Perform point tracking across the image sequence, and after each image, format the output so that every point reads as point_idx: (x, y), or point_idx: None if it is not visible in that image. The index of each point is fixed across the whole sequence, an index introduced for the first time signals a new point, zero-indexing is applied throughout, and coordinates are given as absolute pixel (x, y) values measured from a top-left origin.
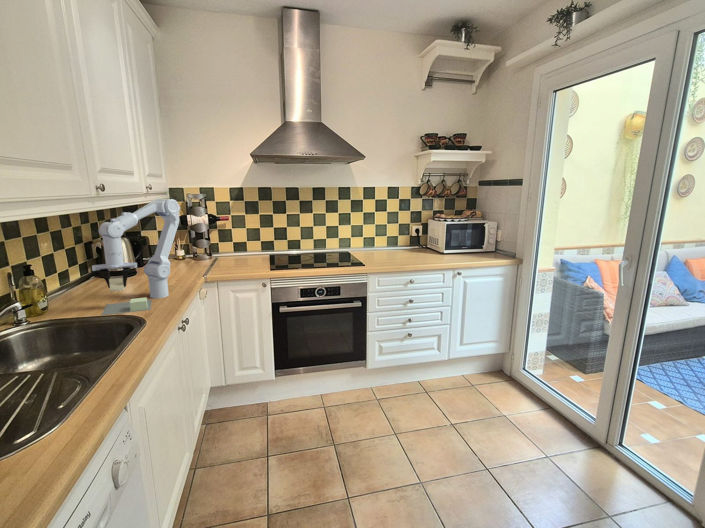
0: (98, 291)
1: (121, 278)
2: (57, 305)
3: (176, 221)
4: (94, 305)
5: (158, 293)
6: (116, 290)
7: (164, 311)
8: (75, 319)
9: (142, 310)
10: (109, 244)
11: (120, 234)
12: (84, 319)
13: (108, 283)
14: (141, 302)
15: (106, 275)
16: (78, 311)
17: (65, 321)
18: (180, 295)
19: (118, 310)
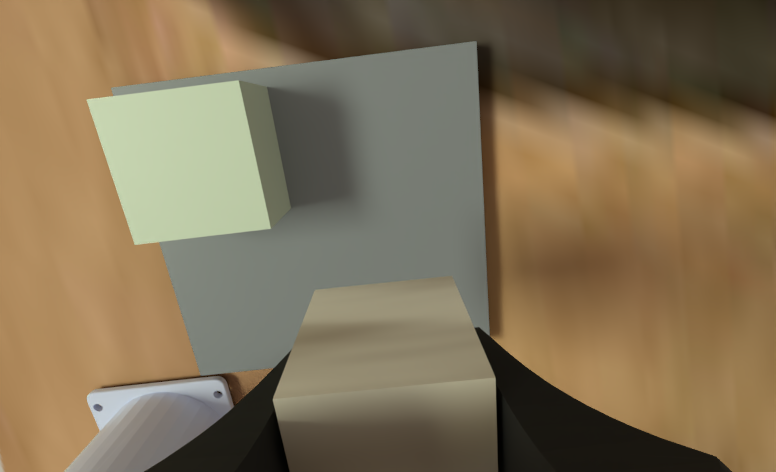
0: None
1: (289, 393)
2: (773, 435)
3: None
4: (564, 375)
5: (133, 423)
6: (389, 286)
7: (7, 57)
8: (647, 62)
9: (174, 84)
10: None
11: None
12: (585, 38)
13: (492, 354)
14: (137, 93)
15: (563, 440)
16: (646, 267)
17: (709, 30)
18: (47, 451)
19: (371, 149)
